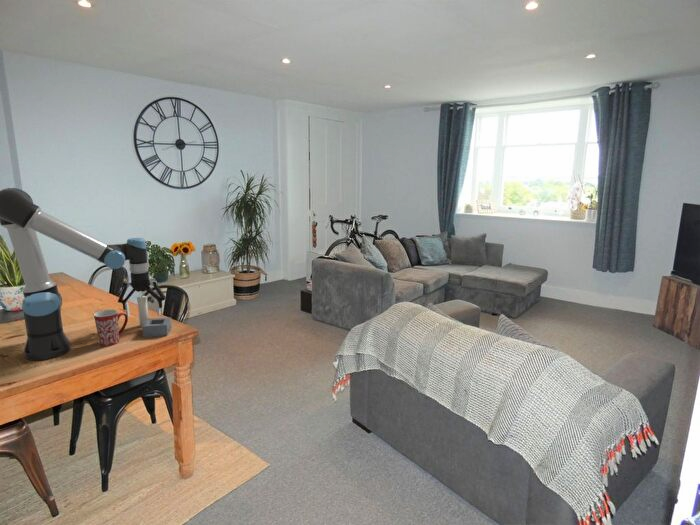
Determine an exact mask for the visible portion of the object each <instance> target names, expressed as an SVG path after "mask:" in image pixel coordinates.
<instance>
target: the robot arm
mask: <svg viewBox="0 0 700 525" xmlns="http://www.w3.org/2000/svg"><path fill="white" fill-rule="evenodd" d="M0 226H1V227H3V228H5V229H6V230H7V233H8V235H9V240H10V242H11V245H12V248H13V252H14V254H15V258H16V260H17V264H18V267H19V270H20V273H21V277H22V280H23V282H24V284H25V286H24V288H22V290H21V291H22V294H23V297H24V298H23V300H22V303H21V309H22V312H23V317H24V318H23V319H24V324H25V325H24V326H25V330H26V336H27V337H26V342H25V346H24V350H23V354H24V358H25V359H26V360H28V361H43V360H49V359H54V358H57V357H59V356H62V355H65V354H67V353H69V351H70V350H71V349H72V347H71V342H70V340H69V339H68V336H67V335H66V333H65V332H64V328H63V321H62V315H61V314H62V313H61V312H62V305H63V296H62V295H61V293H60V292H59V289H58V286H57V283H56V282H55V281H53V280H52V279H51V278H50V274H49V272H48V271H49V270H48V268H47V265H46V261H45V258H44V254H43V251H42V248H41V245H40V242H39V241H40V240H39V238H38V235H37V233H40V234H41V235H44V236H46V237H48V238H50V239H52V240H54V241H56V242H59V243H61V244H62V245H64V246H67V247H68V248H71V249H73V250H76V251H78V252H79V253H81V254H84V255H86V256H88V257H90V258H92V259H94V260H96V261H98V263H101V264H104V265H105V266H106V267H108V268H109V269H112V270H117V269H120V268H122V267H124V265H125V263H126V261H128V262H129V263H128V265H129V271H130V281H131V282H128V281H125V282H124V283H123V289H122V291H121V292H120V296H119V297H118V300H117V303H119V304H122V310H123V311H125V314H126V315H127V317H128V318H129V317H130V306H129V301H128V300H129V299H130V298H131V297H132V295H133V294H134V293H135V292H137V293H138V292H147V293H149V294H150V296H152V298H154V299H156V309H157V312H156V313H157V316H160V315H161V312H162V311H161V309H162V308H163V301H165V300H166V299H167V297H166V295H165V293H164V292H163V291H162V288H160V286H159V285H158V281H157V280H153V281H150V273H149V263H148V251H147V245H146V240H145V239H144V237H143V238H142V237H131V238H127V240H126V242H125V243H118V244H108V243H105V242H103V241H101V240H100V239H97V238H96V237H93V236H92V235H89V234H88V233H85V232H84V231H82V230H80V229H78V228H76V227H74V226H72V225H70V224H68V223H66V222H64V221H62V220H60V219H58V218H56V217H54V216H52V215H50V214H48V213H46V212H44V211H42V209H41V206H38V205H37V204H35V203H34V201H33V198H32V197H31V195H29V193H27V191H25V190H23V189H21V188H17V187H7V188H3V189H1V190H0ZM150 286H152V287H154V290H153V288H151V287H150ZM129 287H131V288H132V290H130V292H129V293H128V294H127V295H126V292H127V290H128V288H129ZM155 291H156V292H155ZM125 295H126V296H125ZM124 296H125V298H124Z"/></svg>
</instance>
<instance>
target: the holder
mask: <svg viewBox="0 0 700 525" xmlns="http://www.w3.org/2000/svg"><path fill="white" fill-rule="evenodd" d="M172 325H173V324H172V317H157V318H155V317H154V318H149V319H147V321H146V322H145V324H144V325H143V326H142V327H141V328H142V336H143V338H150V337H151V338H152V337H153V336H154V337H166V336H165V335H168V336H169V334H170V332H171V330H172V328H173V327H172ZM154 337H153V338H154Z"/></svg>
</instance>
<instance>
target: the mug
mask: <svg viewBox="0 0 700 525" xmlns="http://www.w3.org/2000/svg"><path fill="white" fill-rule="evenodd" d="M122 316H123V317H124V322H123V324H122V327H121V328H120V329H119V321H120V318H121V317H122ZM93 317H94V322H95V327H96V333H97V337H98V338H97V339H98V342H99V345H100V346H102V347H108V346H113V345H116V344H118V343H119V342H120V336H121V335H122V333H123V332H124V330H125V328H126V327H127V325H128V321H129V317H127V315H126V312H125V313H124V312H119V310H117V309H102V310H98V311H96V312H94V313H93Z"/></svg>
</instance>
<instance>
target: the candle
mask: <svg viewBox="0 0 700 525" xmlns="http://www.w3.org/2000/svg"><path fill="white" fill-rule="evenodd" d="M147 298H148V297H147V295H140V296H137V297H136V300H137V312H138V322H139V327H141V328H142V326H143V325H144V324H145V322H146V321H147V319H150V318H149V309H148V299H147Z"/></svg>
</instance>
